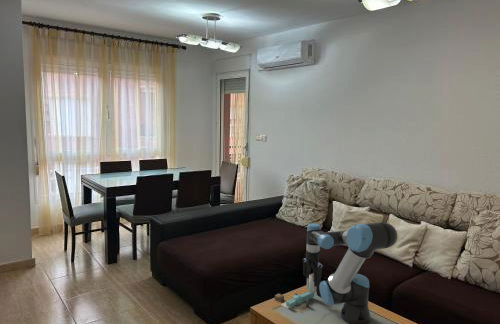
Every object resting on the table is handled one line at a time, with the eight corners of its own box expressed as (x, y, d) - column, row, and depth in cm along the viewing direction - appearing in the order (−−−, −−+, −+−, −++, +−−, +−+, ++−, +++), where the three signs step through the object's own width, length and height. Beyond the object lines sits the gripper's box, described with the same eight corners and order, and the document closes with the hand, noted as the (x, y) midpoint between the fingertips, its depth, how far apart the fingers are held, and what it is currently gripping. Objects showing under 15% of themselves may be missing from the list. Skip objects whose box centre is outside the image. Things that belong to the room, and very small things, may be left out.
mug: (335, 298, 212) (336, 283, 211) (315, 297, 213) (316, 282, 212) (333, 292, 220) (334, 277, 219) (314, 290, 221) (314, 276, 220)
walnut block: (284, 295, 207) (278, 293, 209) (280, 297, 204) (274, 295, 207) (283, 301, 207) (278, 299, 210) (280, 303, 204) (274, 301, 207)
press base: (312, 307, 201) (312, 298, 201) (302, 315, 193) (302, 306, 192) (290, 299, 210) (290, 290, 209) (280, 306, 201) (280, 298, 200)
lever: (316, 296, 209) (317, 275, 207) (291, 308, 195) (292, 285, 194) (309, 293, 212) (310, 272, 211) (284, 304, 199) (285, 282, 197)
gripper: (328, 253, 203) (327, 292, 206) (305, 245, 215) (304, 283, 218) (321, 256, 198) (319, 297, 201) (297, 248, 210) (296, 286, 213)
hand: (311, 289), depth 209 cm, fingers open, 3 cm apart
